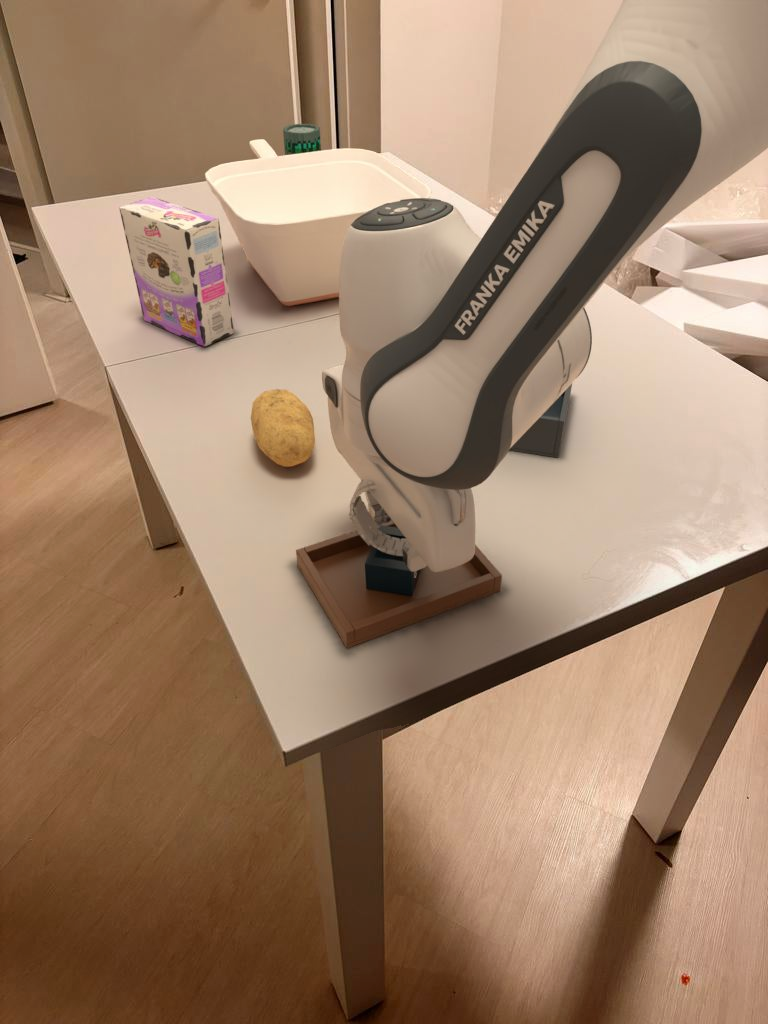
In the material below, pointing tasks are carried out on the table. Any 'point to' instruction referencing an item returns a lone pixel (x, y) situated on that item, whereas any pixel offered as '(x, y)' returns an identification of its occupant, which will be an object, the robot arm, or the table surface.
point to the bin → (546, 430)
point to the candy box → (179, 269)
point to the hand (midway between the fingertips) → (396, 541)
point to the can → (301, 138)
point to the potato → (283, 427)
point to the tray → (375, 613)
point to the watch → (382, 549)
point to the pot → (304, 211)
